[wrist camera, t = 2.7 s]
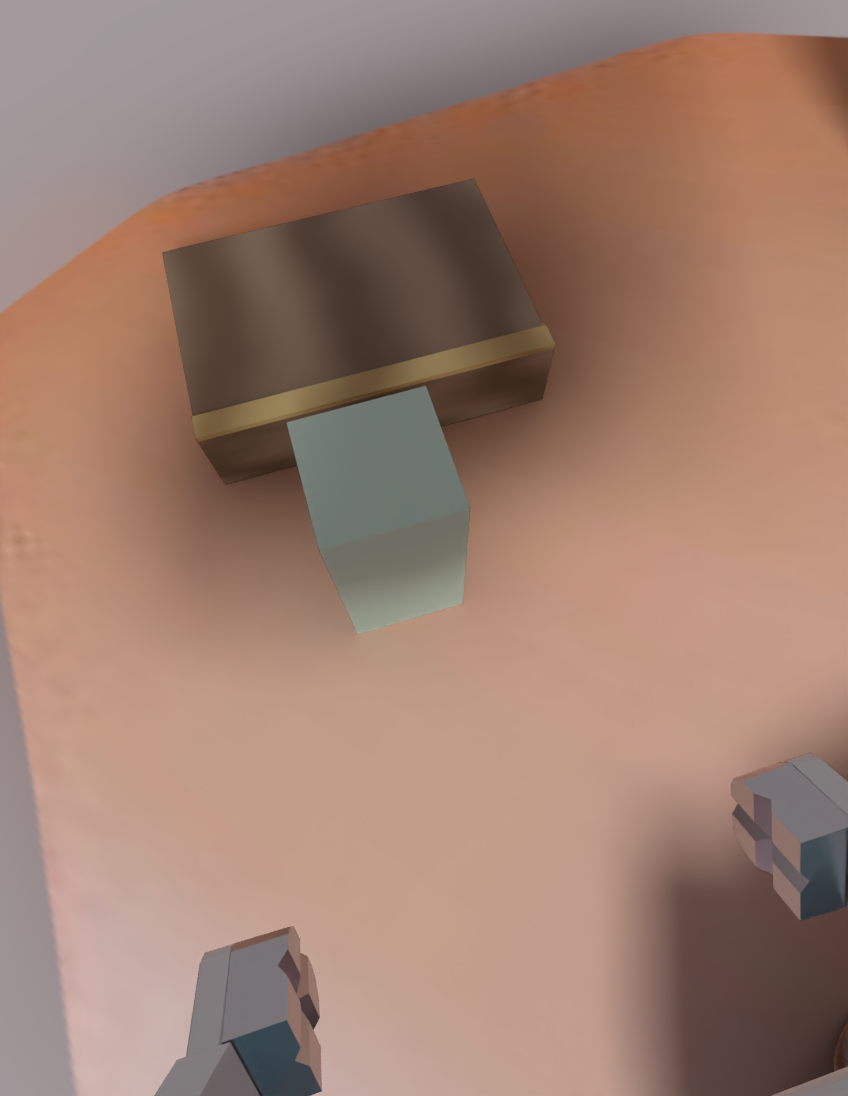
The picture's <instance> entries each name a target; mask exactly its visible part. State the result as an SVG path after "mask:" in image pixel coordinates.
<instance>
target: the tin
mask: <svg viewBox="0 0 848 1096" xmlns="http://www.w3.org/2000/svg"><path fill="white" fill-rule="evenodd" d="M845 1067H848V1022H847V1024H846V1025H845V1026H844V1028H843V1030H842V1032H841V1034H840V1036H839V1039H838V1041H837V1045H836V1048H835V1054H834V1071H837V1070H840V1069H843V1068H845Z"/></svg>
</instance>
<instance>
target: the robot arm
mask: <svg viewBox="0 0 848 1096" xmlns="http://www.w3.org/2000/svg"><path fill="white" fill-rule="evenodd" d="M731 796H732V797H733V798H734V799H735V800H736V801H737V802H738V805H737V806H736V808H735V810H734V811H733V813H732V817H733V827H734V830H735V833H736V836H737V838H738V841H739V843H740V845H741V847H742V848H743V850H744V852H745V853H746V855H747V856H748V857H749V859H750V860H751V861H752V862H753V864H754V865H755V866H756V867H757V868H759V869H761V870H764V871H766V872H768V873H770V874H772V875H773V888H774V890H775V891H776V892H777V893H778V895H779V896H780V897H781V898H782V899H783V901H784V902H785V903H786V904H787V905H788V907H789V908H790V909H791V910H792V912H793V913H794V914H795V915H796V916H797V918H798V919H799V920H800V921H803V920H806V919H809V918H812V917H815V916H818V915H822V914H825V913H828V912H831V911H834V910H837V909H840V908H843V907H847V906H848V782H847V781H846V780H845V779H844V778H843V777H841V776H840V775H839V774H838V773H837V772H836V771H834V770H833V769H832V768H831V767H830V766H829V765H827V764H826V763H825V762H824V761H823V760H822V759H820V758H819V757H818V756H817V755H814V754H812V753H808V754H805V755H802V756H799V757H796V758H793V759H790V760H787V761H784V762H780V763H777V764H774V765H771V766H768V767H765V768H762V769H760V770H757V771H754V772H751V773H748V774H745V775H742V776H739V777H737V778H734V779H733V781H732V783H731ZM319 1018H320V1014H319V997H318V991H317V984H316V979H315V975H314V972H313V968H312V965H311V963H310V960H309V958H308V956H306V955H304V954H301V953H300V938H299V936H298V934H297V932H296V930H295V928H294V926H291V927H287V928H284V929H280V930H277V931H274V932H270V933H267V934H264V935H260V936H257V937H254V938H251V939H247V940H244V941H241V942H237V943H234V944H232V945H228V946H225V947H222V948H219V949H216V950H212V951H209V952H206V953H204V956H203V958H202V960H201V962H200V966H199V973H198V979H197V986H196V993H195V1000H194V1006H193V1013H192V1020H191V1027H190V1033H189V1040H188V1047H187V1054H186V1057H184V1058H181V1059H178V1060H177V1061H176V1062H175V1064H174V1066H173V1067H172V1069H171V1070H170V1072H169V1073H168V1075H167V1077H166V1078H165V1080H164V1081H163V1083H162V1084H161V1086H160V1088H159V1089H158V1091H157V1092H156V1094H155V1096H311V1095H313V1094H316V1093H318V1092H321V1091H322V1078H321V1046H320V1044H319V1042H318V1039H317V1037H316V1035H315V1033H314V1031H313V1030H314V1028H315V1026H316V1024H317V1022H318V1020H319ZM771 1096H848V1067H845V1068H843V1069H840V1070H837V1071H835V1072H832V1073H829V1074H827V1075H824V1076H821V1077H819V1078H816V1079H814V1080H811V1081H808V1082H806V1083H803V1084H800V1085H798V1086H795V1087H792V1088H790V1089H787V1090H784V1091H782V1092H779V1093H776V1094H774V1095H771Z"/></svg>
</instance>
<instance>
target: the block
mask: <svg viewBox="0 0 848 1096" xmlns="http://www.w3.org/2000/svg"><path fill="white" fill-rule="evenodd" d="M287 426H288V430H289V434H290V438H291V442H292V446H293V450H294V454H295V458H296V462H297V466H298V470H299V474H300V477H301V481H302V485H303V489H304V493H305V497H306V501H307V505H308V509H309V513H310V517H311V521H312V525H313V529H314V533H315V536H316V540H317V544H318V548H319V552H320V554H321V556H322V558H323V560H324V562H325V565H326V567H327V569H328V571H329V573H330V575H331V578H332V580H333V582H334V584H335V586H336V588H337V590H338V593H339V595H340V597H341V599H342V601H343V603H344V606H345V608H346V610H347V612H348V614H349V616H350V619H351V621H352V623H353V625H354V627H355V629H356V632H357V634H361V633H365V632H368V631H371V630H375V629H378V628H381V627H385V626H388V625H392V624H395V623H398V622H402V621H405V620H409V619H412V618H415V617H419V616H422V615H426V614H429V613H432V612H436V611H439V610H443V609H446V608H449V607H453V606H456V605H460V604H462V601H463V589H464V578H465V566H466V554H467V543H468V531H469V520H470V506H469V503H468V500H467V497H466V495H465V492H464V489H463V486H462V484H461V481H460V478H459V475H458V473H457V470H456V467H455V464H454V462H453V459H452V456H451V453H450V451H449V448H448V445H447V442H446V440H445V437H444V434H443V431H442V429H441V426H440V423H439V420H438V418H437V415H436V412H435V409H434V407H433V404H432V401H431V398H430V396H429V393H428V390H427V387H426V386H423V387H419V388H415V389H412V390H408V391H404V392H400V393H396V394H393V395H389V396H385V397H381V398H377V399H374V400H370V401H366V402H362V403H358V404H355V405H351V406H347V407H343V408H339V409H336V410H332V411H328V412H324V413H320V414H317V415H313V416H309V417H305V418H301V419H298V420H294V421H290V422H287Z"/></svg>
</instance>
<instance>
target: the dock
mask: <svg viewBox="0 0 848 1096" xmlns="http://www.w3.org/2000/svg"><path fill="white" fill-rule="evenodd" d="M162 255H163V260H164V265H165V271H166V276H167V281H168V287H169V292H170V297H171V303H172V308H173V313H174V319H175V324H176V329H177V335H178V340H179V345H180V351H181V356H182V361H183V367H184V372H185V377H186V383H187V388H188V394H189V399H190V404H191V410H192V415H193V416H192V417H191V418H192V424H193V429H194V434H195V439H196V440H197V442H198V443H199V445H200V446H201V448H202V450H203V451H204V453H205V454H206V456H207V457H208V459H209V460H210V462H211V463H212V465H213V466H214V468H215V470H216V471H217V473H218V474H219V476H220V477H221V479H222V480H223V482H224V483H225V484H229V483H233V482H236V481H240V480H244V479H248V478H251V477H255V476H259V475H262V474H266V473H270V472H273V471H277V470H281V469H285V468H288V467H292V466H296V465H297V462H296V458H295V454H294V450H293V446H292V442H291V438H290V434H289V430H288V426H287V422H290V421H294V420H298V419H301V418H305V417H309V416H313V415H317V414H320V413H324V412H328V411H332V410H336V409H339V408H343V407H347V406H351V405H355V404H358V403H362V402H366V401H370V400H374V399H377V398H381V397H385V396H389V395H393V394H396V393H400V392H404V391H408V390H412V389H415V388H419V387H423V386H426V387H427V390H428V393H429V396H430V398H431V401H432V404H433V407H434V409H435V412H436V415H437V418H438V420H439V423H440V426H444V425H448V424H452V423H455V422H459V421H463V420H467V419H470V418H474V417H478V416H481V415H485V414H489V413H493V412H496V411H500V410H504V409H507V408H511V407H515V406H519V405H522V404H526V403H530V402H533V401H537V400H541V399H543V394H544V390H545V386H546V382H547V377H548V373H549V369H550V364H551V360H552V356H553V352H554V347H555V342H554V340H553V338H552V336H551V334H550V332H549V330H548V328H547V325H543V323H542V321H541V319H540V317H539V315H538V313H537V311H536V309H535V306H534V304H533V302H532V300H531V298H530V296H529V294H528V292H527V289H526V287H525V285H524V283H523V281H522V279H521V277H520V275H519V273H518V270H517V268H516V266H515V264H514V262H513V260H512V258H511V256H510V253H509V251H508V249H507V247H506V245H505V243H504V241H503V239H502V237H501V234H500V232H499V230H498V228H497V226H496V224H495V222H494V220H493V217H492V215H491V213H490V211H489V209H488V207H487V205H486V203H485V201H484V198H483V196H482V194H481V192H480V190H479V188H478V186H477V184H476V181H475V179H470V180H466V181H462V182H458V183H453V184H449V185H445V186H441V187H436V188H432V189H428V190H424V191H419V192H415V193H411V194H407V195H403V196H398V197H394V198H390V199H386V200H381V201H377V202H373V203H369V204H364V205H360V206H356V207H352V208H348V209H343V210H339V211H335V212H331V213H326V214H322V215H318V216H314V217H309V218H305V219H301V220H297V221H292V222H288V223H284V224H280V225H276V226H271V227H267V228H263V229H259V230H254V231H250V232H246V233H242V234H237V235H233V236H229V237H225V238H221V239H216V240H212V241H208V242H204V243H199V244H195V245H191V246H187V247H182V248H178V249H174V250H170V251H166V252H162Z"/></svg>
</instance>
